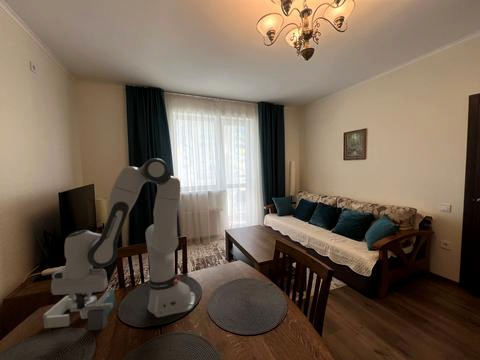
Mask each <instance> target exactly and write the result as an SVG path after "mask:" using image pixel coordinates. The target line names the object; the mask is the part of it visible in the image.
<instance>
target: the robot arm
mask: <svg viewBox="0 0 480 360" xmlns="http://www.w3.org/2000/svg"><path fill="white" fill-rule="evenodd" d="M147 182H148V183H149V182H150V183H154V184H156V187H157V191H156V196H155V201H154V207H153V211H152V212H153V224H151V225H149V226H148V227H147V228H146V230H145V241H146V242H145V243H146V251H147V256H148V261H149V276H150V277H149V283H148V284H149V285H148V286H149V299H148V305H147V310H148V311H149V313H151V314H152V315H153V314H154V315H153V316H155V317H156V318H161V317H166V316H171V315H176V314H181V313H185V312H188V311H191V310H192V309H193V307H194V306H195V303H196V295H195V293H194V292H192V291H191V290H190V286H189V285H188V284H187V283H184V282H182V281H181V280H179V279H180V278H179V274H176V273H175V262H174V261H175V260H174V256H173V252H174V251H176V249H177V248H178V246H179V237H178V221H177V219H178V211H179V203H180V199H181V198H180V197H181V181H180V180H179V178H177V177H176V176H173V175H172V174H171V172H170V169H169V166H168V165H167V163H166V161H164V160H163V159H161V158H158V157H157V158H155V157H153V158H150V159H148V160H147V161H145V162H144V164H143V165H142V166H140V167H136V166H132V165H131V166H130V165H129V166H125V167H123V168H122V170H121V171H120V173H119V174H118V176H117V177H116V179H115V181H114V184H113V186H112V188H111V192H110V195H109V199H108V216H107V220H106V222H105V225H104V227H103V230H102V232H101V233H97V232H94V231H90V230H89V229H79V230H77V231H73V232H72V233H70V234H68V235H67V236H66V237H65V241H64V258H65V260H66V262H65V266H63V267H61V268H59V269H58V270H56V271H55V272H54V273H52V274H51V278H52V280H51V284H50V285H51V286H50V287H51V294H52V295H53V296H59V295H68V296H69V299H70V298H71V299H72V303H77V300H76V295H77V294H78V293H86V298H84V302H89V301H90V296H92V294H93V293H101V292H103V291H105V290H106V289H107V288H108V286H109V281H108V277H107V276H108V275H107V274H108V273H107V270H105V269H104V268H105V267H107V266H110V265H112V264H113V263H114V262H116V261H115V260H116V259H117V257H118V255H119V253H118V252H119V251H118V250H119V249H118V241H119V238H120V236H121V233H122V230H123V227H124V224H125V222H126V220H127V217H128V215H129V214H130V212H131V210H132V209H133V207H134V205H135V203H136V202H137V200H138V197H139V196H140V192H141V189H142V187H143V185H144V184H145V183H147ZM93 267H95V268H93Z"/></svg>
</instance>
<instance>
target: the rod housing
mask: <svg viewBox="0 0 480 360" xmlns="http://www.w3.org/2000/svg"><path fill="white" fill-rule="evenodd" d="M87 317H88V318H87V329H88V331H89V332H90V331H98V330H104V329H105V328H106V326H107V325H108V323H109V321H108V316H107V309H100V310H89V311H88V312H87Z"/></svg>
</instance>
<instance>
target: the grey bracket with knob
mask: <svg viewBox="0 0 480 360" xmlns="http://www.w3.org/2000/svg"><path fill="white" fill-rule="evenodd" d="M75 295H76V300H77V305H76V306H72V307H71V308H70V309H69V311H70V313H75V312H80V311H88V310H100V309H107V317H108V316H109V314H110V313H111V311H113V309H114V308H115V305H116V303H115V301H116V300H115V289H111V290H109V291H108V290H107V291H105V292H104V293H103V295H102V296H101V297H100V298H99V299H97V300H96V303H95V304H88V305H86V302H84V298H86V296H87V294H86V293H76V294H75Z"/></svg>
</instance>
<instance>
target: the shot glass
mask: <svg viewBox="0 0 480 360" xmlns="http://www.w3.org/2000/svg"><path fill="white" fill-rule="evenodd" d="M97 301H98V299H97V296H96V295H91V296H90V301H89V302H86V305H88V304H95V303H96V302H97ZM88 311H89V310H88ZM88 311H79V314H80V318H81V319H82V320H86V319H87V320H88V317H87V312H88Z"/></svg>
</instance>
